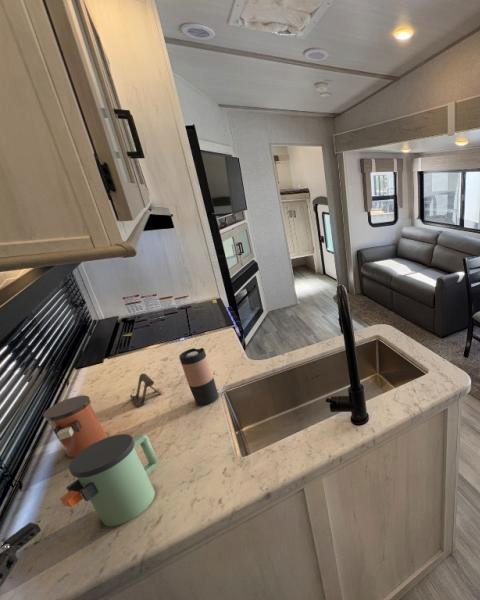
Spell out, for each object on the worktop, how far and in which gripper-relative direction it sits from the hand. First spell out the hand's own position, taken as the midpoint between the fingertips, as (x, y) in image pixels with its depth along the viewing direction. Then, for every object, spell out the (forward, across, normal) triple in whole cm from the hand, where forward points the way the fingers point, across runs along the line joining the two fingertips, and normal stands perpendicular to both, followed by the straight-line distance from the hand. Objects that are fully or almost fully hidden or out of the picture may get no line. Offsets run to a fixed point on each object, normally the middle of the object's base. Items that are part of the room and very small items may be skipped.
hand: (36, 526), depth 59 cm
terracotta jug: (+27, +35, +12) cm, 46 cm away
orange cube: (+6, 0, +1) cm, 6 cm away
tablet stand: (+49, +39, +13) cm, 63 cm away
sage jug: (+14, 0, +12) cm, 19 cm away
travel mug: (+51, +14, +13) cm, 55 cm away
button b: (+21, +29, +3) cm, 36 cm away
